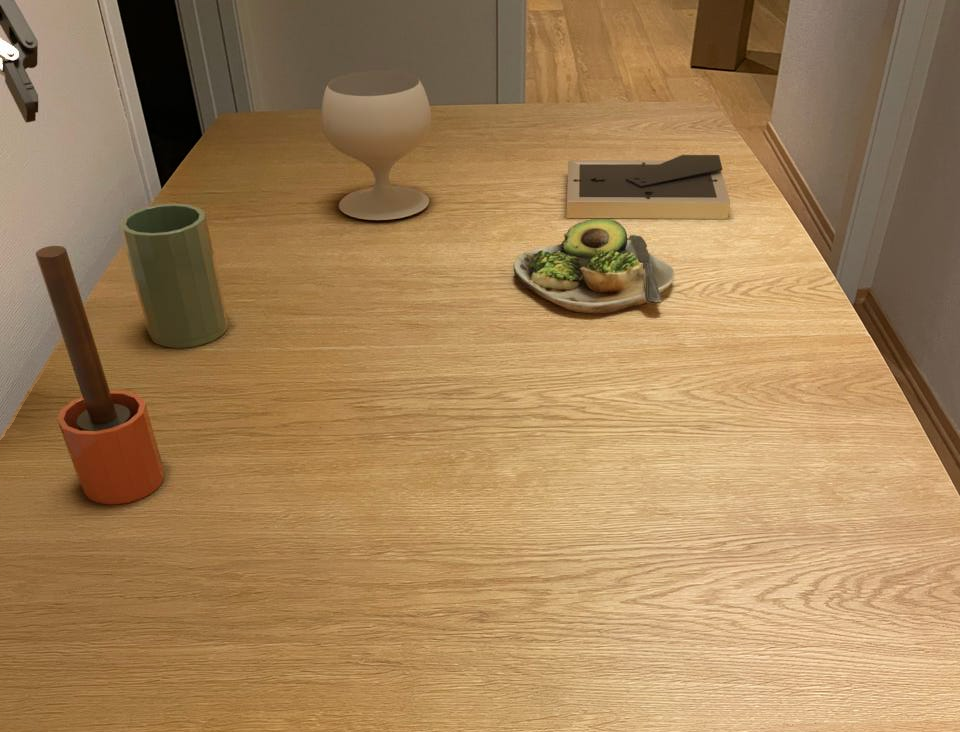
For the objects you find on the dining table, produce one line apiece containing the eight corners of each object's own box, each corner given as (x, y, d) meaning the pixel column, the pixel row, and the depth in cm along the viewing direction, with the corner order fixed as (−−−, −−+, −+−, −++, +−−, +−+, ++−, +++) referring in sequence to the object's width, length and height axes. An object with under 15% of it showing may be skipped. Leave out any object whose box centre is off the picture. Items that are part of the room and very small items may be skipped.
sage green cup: (145, 351, 107) (114, 237, 99) (154, 315, 113) (126, 206, 105) (225, 344, 107) (201, 231, 99) (230, 310, 114) (207, 201, 105)
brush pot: (76, 508, 86) (50, 437, 81) (90, 462, 91) (66, 393, 86) (159, 501, 87) (138, 430, 82) (168, 455, 92) (149, 386, 87)
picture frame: (716, 176, 141) (567, 175, 142) (719, 154, 139) (568, 154, 140) (727, 218, 129) (566, 218, 131) (731, 196, 128) (567, 195, 129)
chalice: (367, 234, 129) (354, 106, 118) (313, 203, 137) (297, 81, 127) (456, 208, 134) (451, 84, 124) (399, 180, 143) (390, 61, 133)
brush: (93, 493, 87) (13, 265, 73) (101, 465, 90) (26, 241, 76) (144, 488, 87) (75, 261, 73) (150, 460, 90) (85, 237, 77)
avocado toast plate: (717, 301, 112) (723, 260, 109) (578, 337, 107) (580, 295, 103) (624, 241, 125) (627, 203, 122) (496, 271, 119) (495, 232, 116)
